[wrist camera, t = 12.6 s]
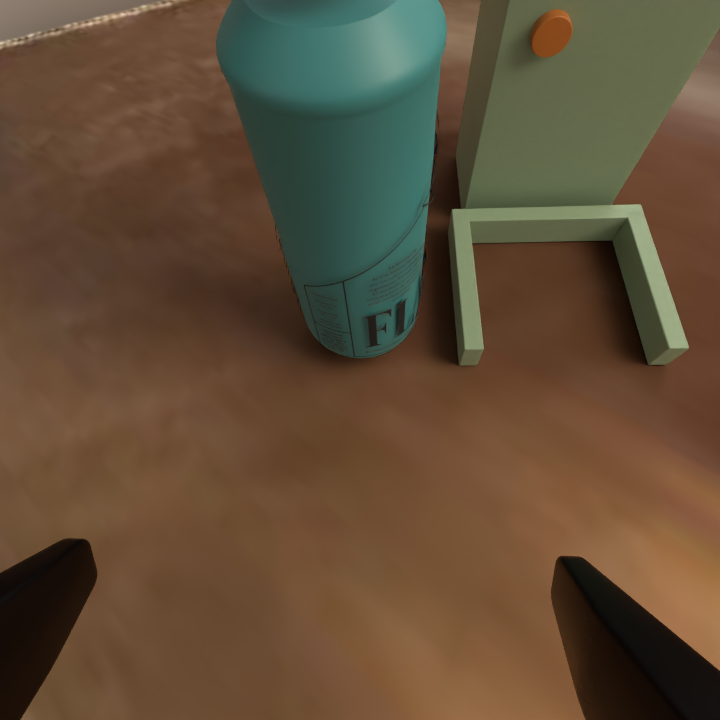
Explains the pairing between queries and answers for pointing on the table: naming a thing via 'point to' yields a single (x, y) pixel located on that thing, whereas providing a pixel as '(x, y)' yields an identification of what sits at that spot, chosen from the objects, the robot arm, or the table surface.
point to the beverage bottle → (343, 151)
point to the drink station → (570, 140)
